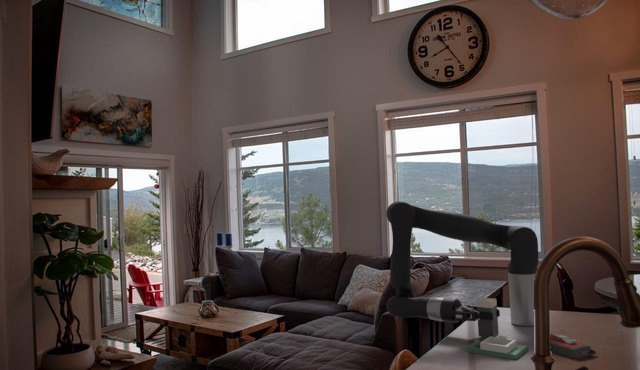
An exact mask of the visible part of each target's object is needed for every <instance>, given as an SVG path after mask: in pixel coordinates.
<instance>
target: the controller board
mask: <svg viewBox="0 0 640 370" xmlns="http://www.w3.org/2000/svg"><path fill="white" fill-rule="evenodd" d="M528 348H529V346H528V345H527V344H526V345H525V344H518V341H517V339H512V338H507V335H503V334H499V335H498V336H496V337H491V336H490V337H488V338H487V337H479V338H473V342H472V343H471V344H469V345H467V346H466V347H465V352H467V353H474V354H478V355H479V354H481V355H486V356H494V357H498V358H499V357H500V358H506V359H511V360H517V359H519V358H520V357H521V356H523V355H524V354H525V353H526V352H527V351H529V349H528Z"/></svg>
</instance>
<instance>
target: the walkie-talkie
mask: <svg viewBox="0 0 640 370" xmlns="http://www.w3.org/2000/svg"><path fill="white" fill-rule="evenodd" d="M549 336H550V347H551V348H550V351H549V352H552V353H554V354H558V355H562V356H565V357H568V358H570V359H571V358H572V359H576V360H577V359H582V358H587V357H590V356H592V355H596V353H597V351H596V350H594V349H592V348H591V346H590V345H588V344H584V343H582V342H581V343H580V342H578V341H577V339H570V338H569V336H567V335H563V334H560V333H554V334H553V333H552V334H550V335H549Z"/></svg>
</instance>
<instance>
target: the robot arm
mask: <svg viewBox="0 0 640 370" xmlns="http://www.w3.org/2000/svg"><path fill="white" fill-rule="evenodd" d="M385 214H386V215H385V216H386V219H387V221H388V222H389V224H390V227H391V231H392V234H391V235H392V248H391V255H390V256H391V257H390V266H389V267H390V271H389V272H390V273H389V274H390V277H389V281H390V282H389V283H390V285H391V288H395V292H396V293H395V295H393V296H390V297H389V298H388V300H387V301H386V303H385V306H386V310H387V312H388V314H390V315H391V316H393V317H396V318H403V319H404V318H406V319H407V318H419V319H420V318H421V319H427V320H433V321H437V322H445V323H454V324H457V323H460V321H465V322H466V321H467V322H476V321H478V320H481V319H482V320H491V321H492V320H493V319H494V316H493V313H489V312H480V311H477V303H472V304H469V303H468V304H464V305H463V304H462V303H461V300H460V299H458V298H451V297H439V296H438V297H437V296H436V297H434V296H433V297H431V296H430V297H429V296H416V297H414V291H413V287H412V283H411V280H412V279H411V278H412V277H411V276H412V275H411V274H412V273H411V272H412V269H411V268H412V265H411V263H412V261H411V257H412V256H411V255H412V254H411V252H412V251H411V247H412V244H411V243H412V234H413V229H420V230H425V231H427V232H430V233H433V234H435V235H438V236H441V237H444V238H449V239H452V240H457V241H460V242H461V241H462V242H467V243H468V242H469V243H477V244H478V243H482V244H489V245H493V246H498V247H500V248H502V249H506V250H509V251H510V261H509V262H508V265H507V273H508V274H507V276H508V277H507V278H508V279H507V280H508V291H509V294H508V295H509V307H510V312H509V313H510V323H511V324H512V325H516V326H522V327H523V326H524V327H533V326H534V311H533V310H534V280H535V275H536V271H537V270H538V265H539V242H538V241H539V240H538V236H537V233H536V232H535V231H534V230H533V229H532V228H530V227H528V226H522V225H508V224H507V225H506V224H499V223H493V222H489V221H487V220H484V219H481V218H479V217H476V216H473V215H468V214H463V213H461V212H460V213H459V212H456V211H455V212H454V211H448V210H437V209H436V210H435V209H428V208H423V207H420V206H416V205H413V204H410V203H408V202H407V201H401V200H398V201H394V202H392V203H391V204H389V205H388V207H387V209H386V213H385ZM537 272H538V271H537ZM500 316H501V312H500V309H498V308H497V317H499V318H500ZM534 327H535V326H534Z"/></svg>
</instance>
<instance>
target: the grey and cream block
mask: <svg viewBox="0 0 640 370" xmlns="http://www.w3.org/2000/svg"><path fill="white" fill-rule="evenodd" d="M476 304H477V311H480V312H489V313H493V316H494V319H493V320H492V321H491V320H482V319H481V320H477V332H478V337H479V338H480V337H487V338H488V337H490V336H491V337H499V335H500V334H499V320H498V319H499V318H498V317H497V309H498V305H497V298H490V297H480V298H478V299H476Z"/></svg>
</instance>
